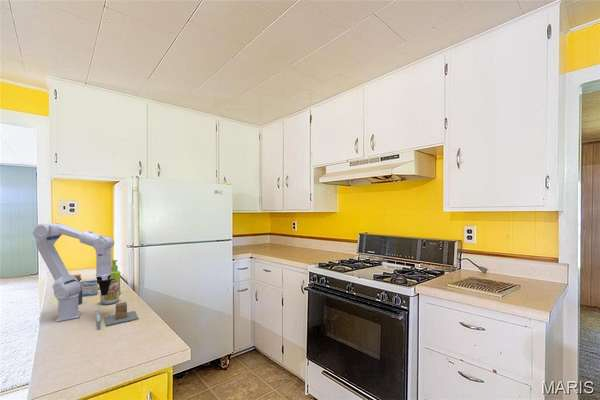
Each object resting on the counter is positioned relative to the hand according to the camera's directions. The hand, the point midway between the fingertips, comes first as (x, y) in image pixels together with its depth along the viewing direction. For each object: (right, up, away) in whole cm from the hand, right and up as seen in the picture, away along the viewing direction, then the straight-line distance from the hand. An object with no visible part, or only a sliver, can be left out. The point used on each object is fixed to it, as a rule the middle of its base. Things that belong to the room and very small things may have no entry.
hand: (103, 293), depth 133 cm
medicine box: (-32, -12, +34) cm, 48 cm away
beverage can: (-10, -11, +19) cm, 25 cm away
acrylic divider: (+4, -10, -9) cm, 14 cm away
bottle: (-27, -12, +18) cm, 35 cm away
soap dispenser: (-17, -12, +33) cm, 39 cm away
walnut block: (+10, -10, -4) cm, 15 cm away
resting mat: (+10, -10, -4) cm, 15 cm away
